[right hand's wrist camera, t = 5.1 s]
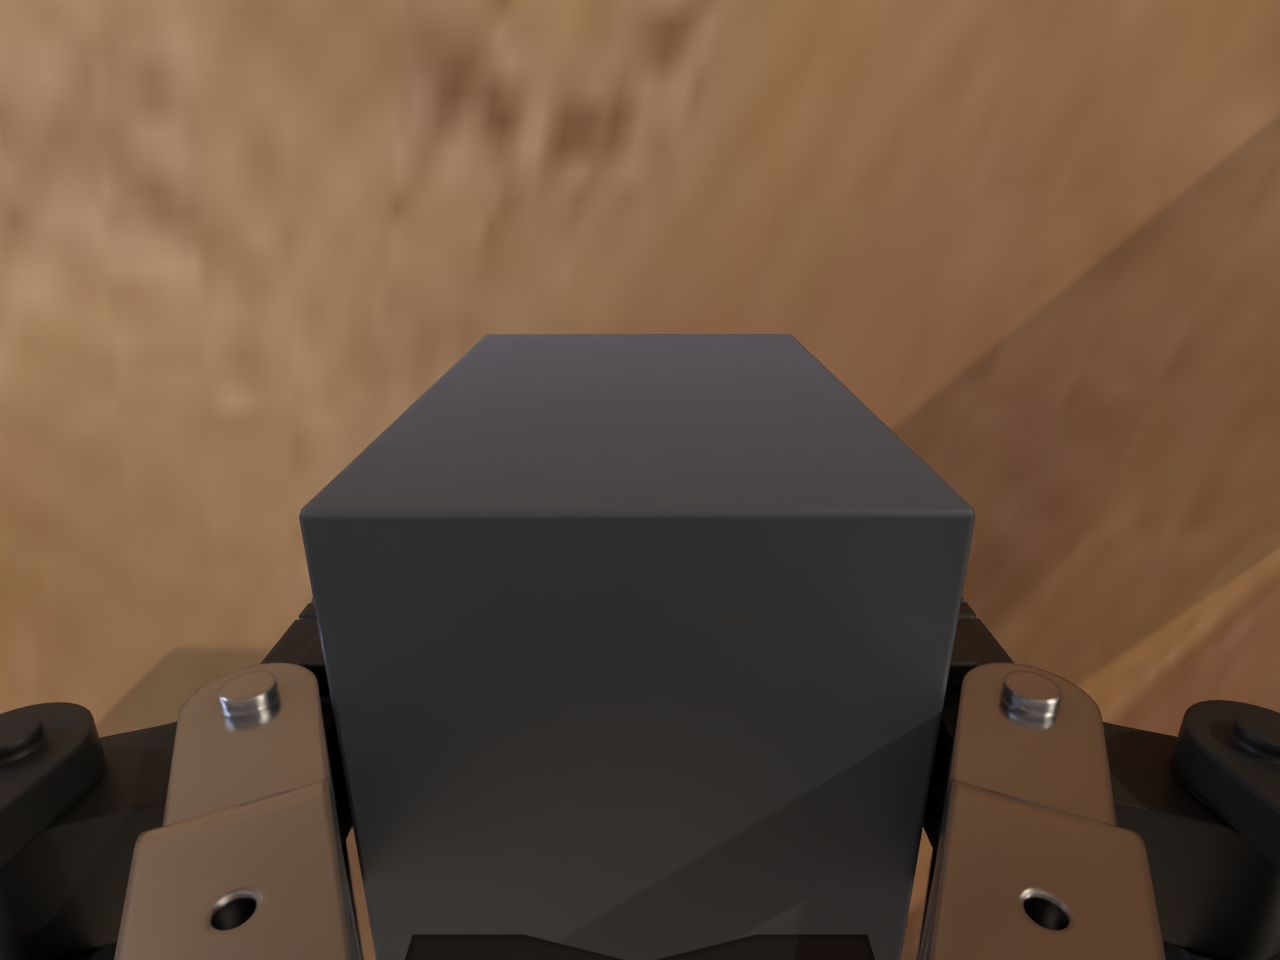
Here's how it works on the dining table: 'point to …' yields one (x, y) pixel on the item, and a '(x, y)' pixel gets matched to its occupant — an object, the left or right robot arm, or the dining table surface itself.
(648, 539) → the bar
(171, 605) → the dining table surface
